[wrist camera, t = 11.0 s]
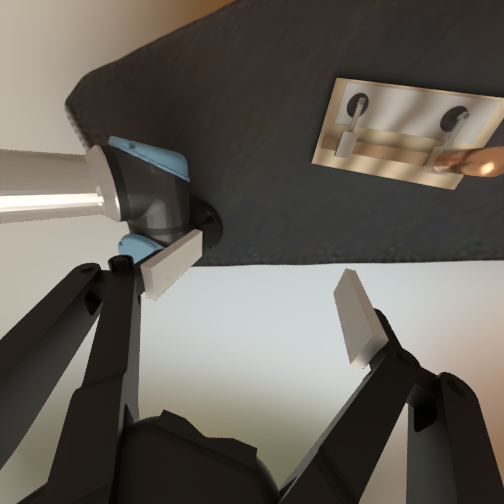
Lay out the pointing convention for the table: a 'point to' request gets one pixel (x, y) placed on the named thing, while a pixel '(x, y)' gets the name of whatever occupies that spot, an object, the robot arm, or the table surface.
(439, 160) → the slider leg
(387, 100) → the holed mounting plate
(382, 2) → the table surface
